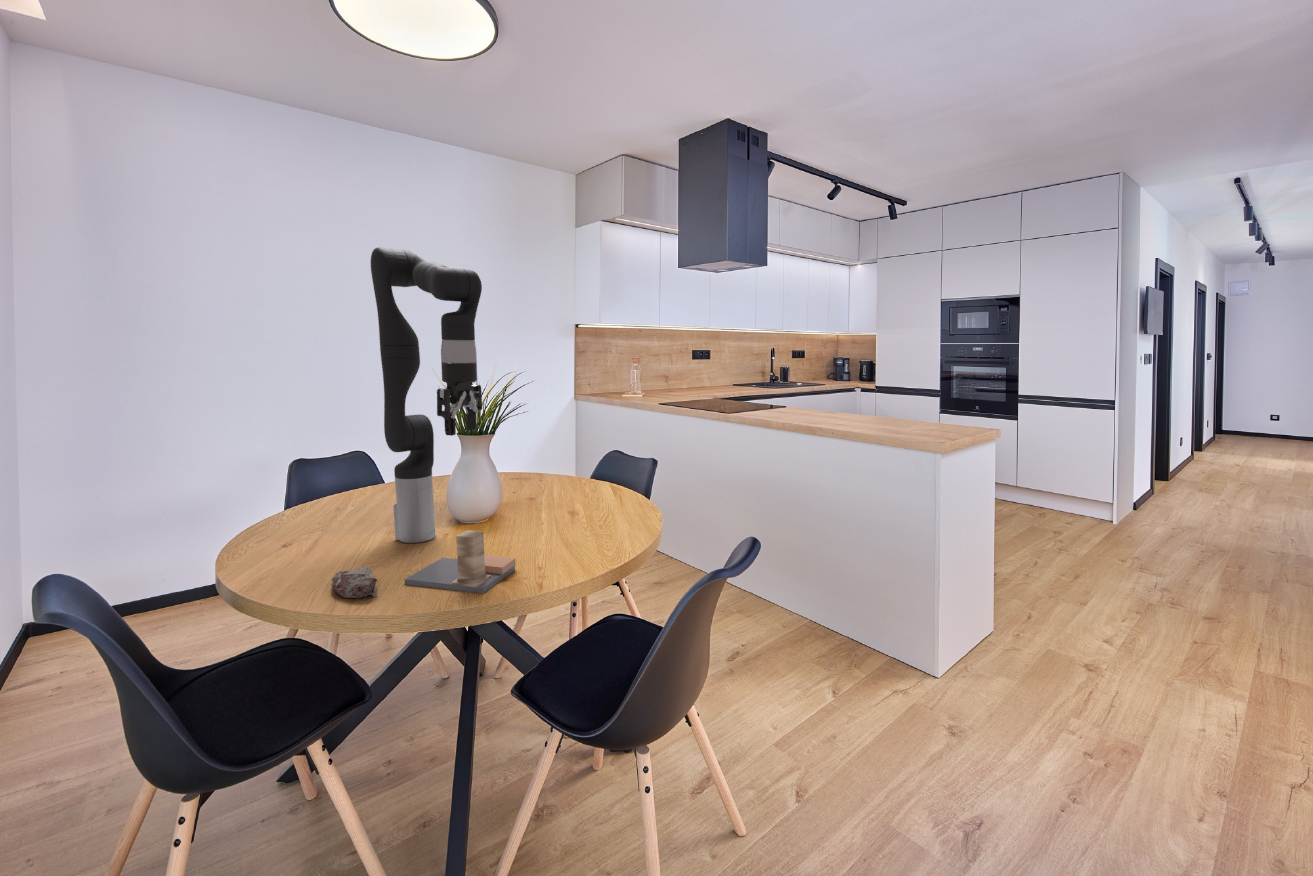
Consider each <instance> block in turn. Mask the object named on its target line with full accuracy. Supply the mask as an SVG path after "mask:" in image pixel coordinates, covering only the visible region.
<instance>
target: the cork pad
mask: <svg viewBox="0 0 1313 876" xmlns="http://www.w3.org/2000/svg"><path fill="white" fill-rule="evenodd" d="M486 575H487V574H486ZM490 577H491V575H487V576H486V577H484V578H483V579H481V580H480V581H478V582H477V583H467V582H458V581H457V579H456V580H454V581H453V582H451V584H452V585H461V586H470V587H478V586H479V585H480V584H482V583H483V582H485V581H486V580H487V579H489V578H490Z"/></svg>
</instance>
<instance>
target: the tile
mask: <svg viewBox="0 0 1313 876" xmlns="http://www.w3.org/2000/svg"><path fill="white" fill-rule="evenodd" d="M484 559H485V573H494V574H504V573H505V572H507V571H508V570H509V569H511V568H512V567H513V566H515V567H516V558H515V557H505V556H494V555H485V554H484Z"/></svg>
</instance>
